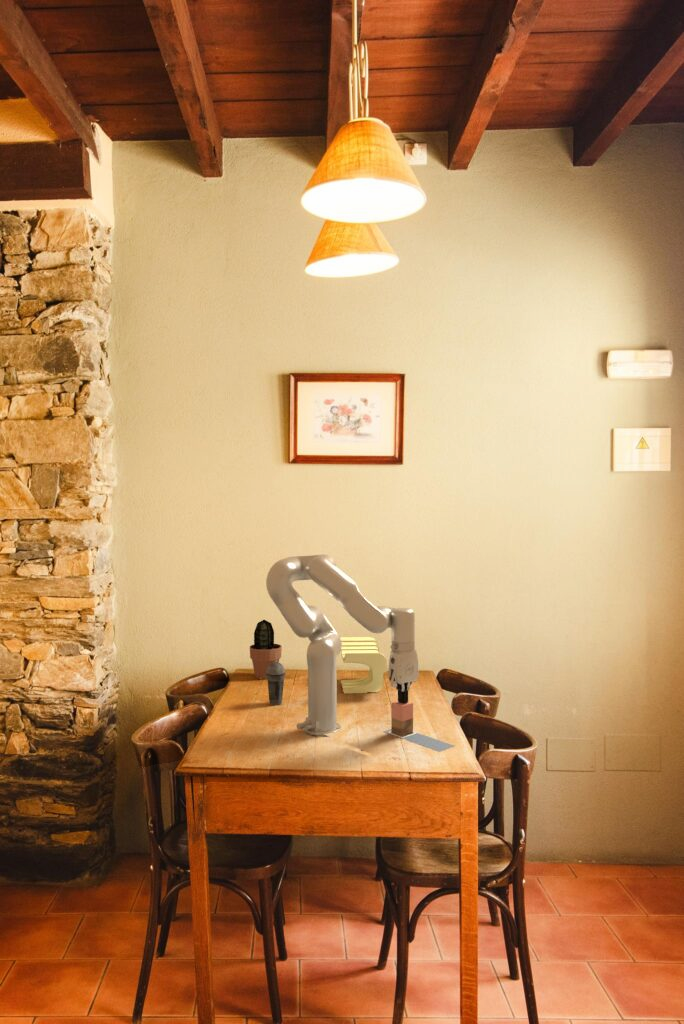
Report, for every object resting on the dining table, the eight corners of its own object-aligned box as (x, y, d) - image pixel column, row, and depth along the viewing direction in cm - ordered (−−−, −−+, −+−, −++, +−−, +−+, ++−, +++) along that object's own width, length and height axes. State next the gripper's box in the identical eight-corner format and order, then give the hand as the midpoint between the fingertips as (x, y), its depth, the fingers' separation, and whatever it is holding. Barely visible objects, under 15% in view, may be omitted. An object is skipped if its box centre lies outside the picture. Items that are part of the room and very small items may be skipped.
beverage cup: (285, 700, 273) (286, 648, 272) (284, 706, 266) (285, 652, 265) (266, 700, 273) (266, 648, 272) (265, 706, 265) (265, 653, 265)
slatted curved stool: (386, 698, 276) (386, 652, 276) (345, 699, 275) (345, 653, 275) (377, 678, 306) (377, 636, 306) (339, 678, 305) (340, 637, 305)
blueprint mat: (439, 755, 218) (439, 751, 218) (383, 734, 236) (383, 731, 236) (455, 749, 223) (455, 745, 223) (399, 729, 241) (399, 726, 241)
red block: (402, 721, 231) (402, 705, 231) (391, 717, 235) (391, 702, 235) (413, 718, 234) (413, 702, 234) (401, 714, 238) (402, 699, 238)
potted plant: (287, 675, 310) (288, 618, 309) (268, 682, 298) (268, 623, 298) (263, 671, 317) (263, 615, 316) (243, 678, 306) (243, 619, 305)
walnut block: (402, 736, 231) (402, 721, 231) (391, 732, 235) (391, 717, 235) (413, 733, 234) (413, 718, 234) (401, 729, 238) (401, 714, 238)
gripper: (395, 651, 226) (395, 709, 226) (426, 644, 236) (426, 700, 236) (378, 648, 232) (378, 704, 232) (410, 641, 242) (410, 695, 242)
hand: (402, 702), depth 234 cm, fingers closed
